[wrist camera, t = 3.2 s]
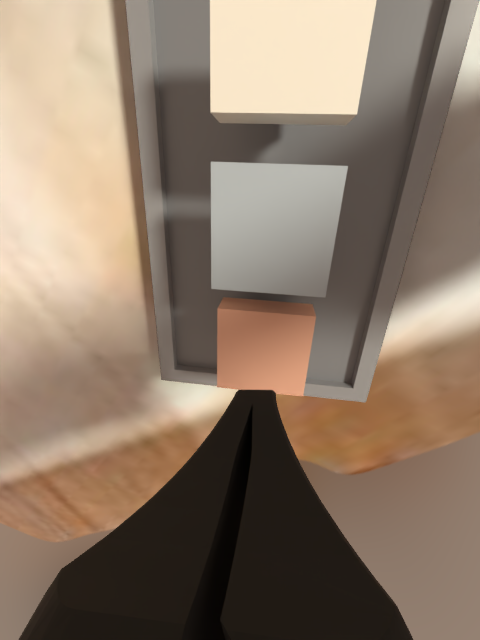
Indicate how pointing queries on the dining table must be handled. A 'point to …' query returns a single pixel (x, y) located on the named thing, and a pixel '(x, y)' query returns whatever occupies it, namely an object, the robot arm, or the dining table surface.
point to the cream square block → (288, 60)
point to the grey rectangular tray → (291, 148)
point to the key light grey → (274, 226)
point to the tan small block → (264, 345)
